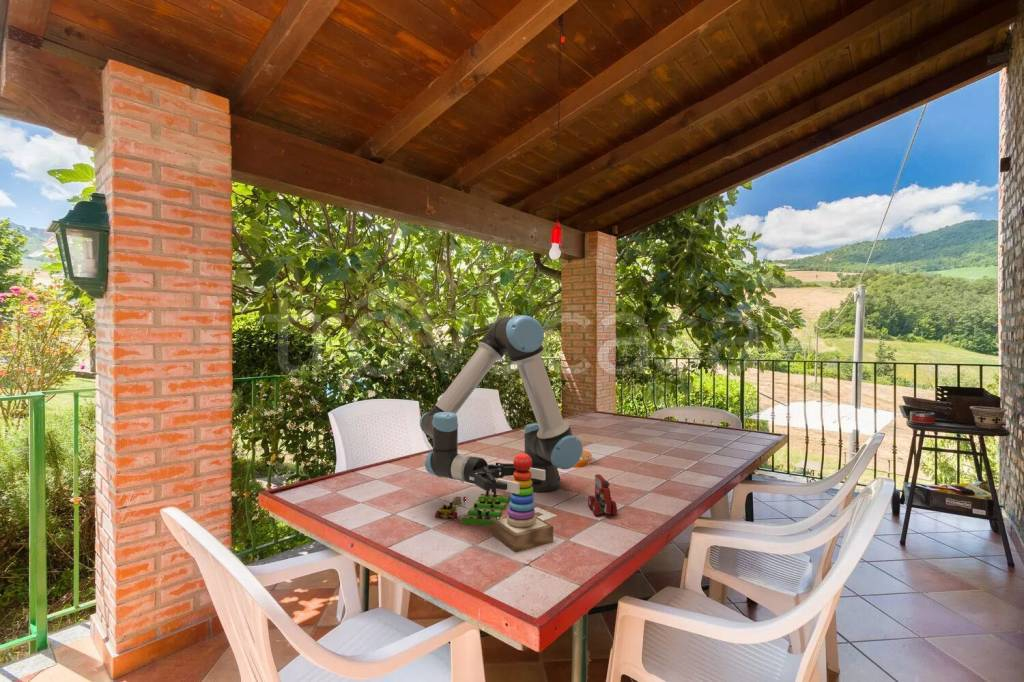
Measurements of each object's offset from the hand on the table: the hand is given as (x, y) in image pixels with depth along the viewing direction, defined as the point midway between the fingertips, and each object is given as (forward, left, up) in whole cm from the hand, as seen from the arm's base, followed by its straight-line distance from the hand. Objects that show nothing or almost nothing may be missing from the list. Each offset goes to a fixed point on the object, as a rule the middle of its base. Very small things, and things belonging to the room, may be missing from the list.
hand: (532, 481), depth 125 cm
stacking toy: (+2, -3, -12) cm, 12 cm away
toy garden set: (+3, -29, -17) cm, 33 cm away
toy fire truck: (-31, -6, -16) cm, 35 cm away
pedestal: (+1, -3, -16) cm, 16 cm away
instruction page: (-10, -14, -16) cm, 23 cm away
